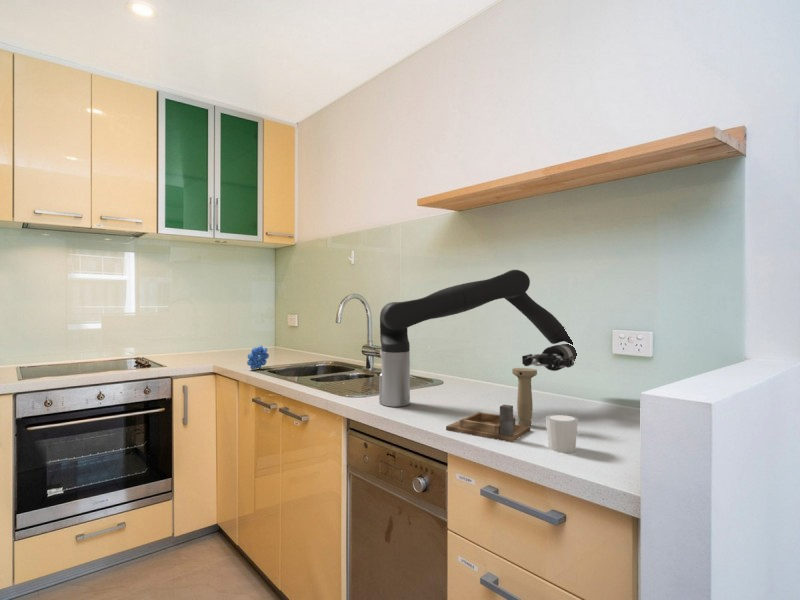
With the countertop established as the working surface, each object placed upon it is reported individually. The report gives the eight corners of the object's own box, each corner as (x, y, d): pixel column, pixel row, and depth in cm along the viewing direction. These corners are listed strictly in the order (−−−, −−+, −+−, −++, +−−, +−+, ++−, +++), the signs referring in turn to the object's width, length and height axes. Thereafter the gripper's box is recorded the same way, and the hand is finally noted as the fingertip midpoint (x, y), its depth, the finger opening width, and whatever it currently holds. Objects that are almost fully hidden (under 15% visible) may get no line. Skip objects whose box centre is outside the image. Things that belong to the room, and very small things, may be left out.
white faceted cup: (545, 451, 101) (544, 420, 101) (546, 442, 108) (546, 413, 108) (578, 455, 99) (578, 422, 99) (578, 445, 105) (577, 415, 105)
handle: (517, 421, 127) (517, 367, 127) (540, 425, 123) (539, 369, 123) (509, 425, 123) (509, 369, 123) (532, 429, 119) (532, 371, 119)
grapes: (264, 367, 236) (264, 344, 236) (271, 368, 232) (271, 345, 232) (243, 370, 228) (242, 345, 228) (249, 371, 223) (249, 346, 223)
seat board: (446, 430, 119) (445, 399, 119) (467, 420, 129) (467, 391, 129) (512, 442, 108) (511, 408, 108) (530, 430, 118) (530, 399, 118)
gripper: (535, 344, 149) (515, 349, 136) (580, 346, 141) (564, 351, 128) (535, 367, 149) (516, 374, 136) (581, 370, 141) (565, 378, 128)
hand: (539, 363), depth 132 cm, fingers open, 8 cm apart
